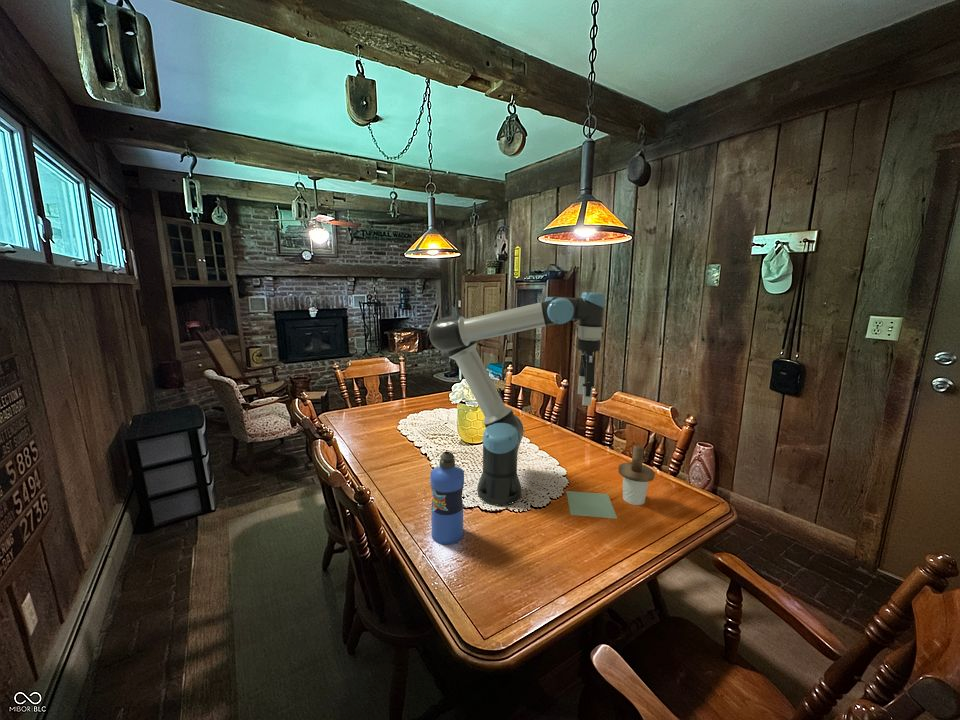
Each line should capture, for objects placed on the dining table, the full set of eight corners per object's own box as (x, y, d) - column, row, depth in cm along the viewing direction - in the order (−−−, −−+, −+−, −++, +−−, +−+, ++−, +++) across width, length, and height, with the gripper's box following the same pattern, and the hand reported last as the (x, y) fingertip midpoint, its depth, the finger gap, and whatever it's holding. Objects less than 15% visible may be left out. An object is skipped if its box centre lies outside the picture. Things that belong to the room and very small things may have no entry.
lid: (622, 480, 118) (625, 453, 117) (615, 464, 129) (617, 439, 127) (659, 483, 117) (662, 455, 115) (648, 467, 128) (651, 441, 126)
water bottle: (447, 520, 113) (446, 442, 108) (470, 533, 107) (471, 451, 103) (424, 535, 106) (422, 453, 101) (447, 550, 100) (447, 463, 96)
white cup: (619, 503, 123) (621, 475, 121) (622, 492, 130) (625, 465, 128) (645, 510, 120) (648, 481, 118) (647, 498, 127) (650, 471, 125)
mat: (570, 516, 116) (570, 514, 116) (566, 492, 130) (566, 490, 129) (617, 520, 114) (617, 518, 114) (607, 495, 128) (607, 494, 128)
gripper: (607, 344, 113) (601, 411, 117) (595, 335, 137) (589, 390, 141) (582, 343, 114) (576, 409, 118) (574, 333, 138) (569, 389, 142)
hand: (583, 399), depth 130 cm, fingers open, 13 cm apart
